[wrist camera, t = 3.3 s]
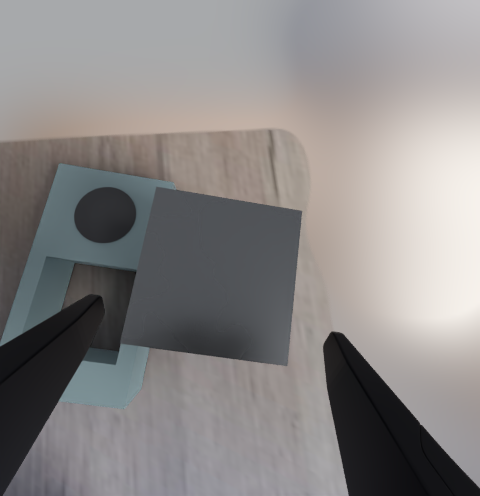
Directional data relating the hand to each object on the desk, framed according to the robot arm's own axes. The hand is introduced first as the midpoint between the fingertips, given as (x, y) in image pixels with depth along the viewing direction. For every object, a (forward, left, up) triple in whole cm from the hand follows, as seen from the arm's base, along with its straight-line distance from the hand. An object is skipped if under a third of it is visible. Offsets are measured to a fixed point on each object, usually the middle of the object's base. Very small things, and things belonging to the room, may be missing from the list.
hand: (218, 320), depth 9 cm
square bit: (+2, 0, -9) cm, 9 cm away
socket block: (+1, +8, -9) cm, 12 cm away
